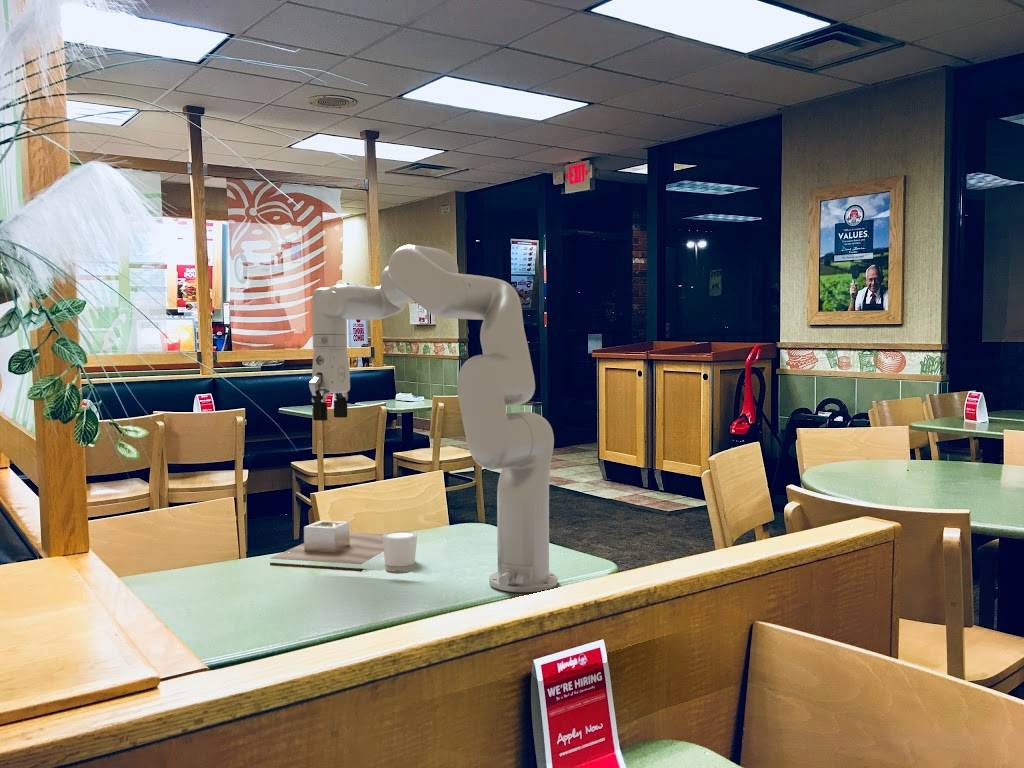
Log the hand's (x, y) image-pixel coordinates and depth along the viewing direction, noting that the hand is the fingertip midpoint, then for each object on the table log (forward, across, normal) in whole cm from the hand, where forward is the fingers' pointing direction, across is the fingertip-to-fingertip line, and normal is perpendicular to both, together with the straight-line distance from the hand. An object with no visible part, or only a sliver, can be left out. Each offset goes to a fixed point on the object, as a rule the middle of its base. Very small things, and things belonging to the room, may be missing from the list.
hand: (330, 418), depth 179 cm
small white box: (+27, -10, -4) cm, 29 cm away
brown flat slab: (+28, -8, -7) cm, 30 cm away
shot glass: (+28, -18, -24) cm, 41 cm away
